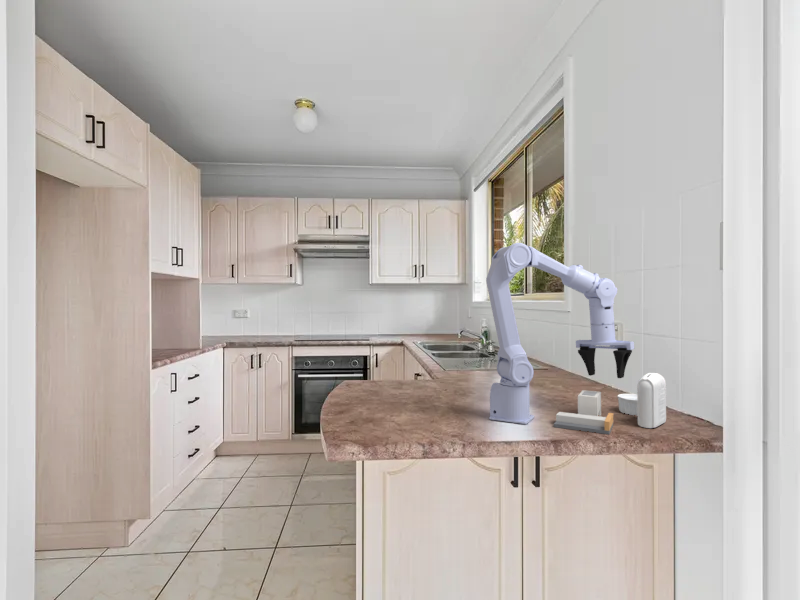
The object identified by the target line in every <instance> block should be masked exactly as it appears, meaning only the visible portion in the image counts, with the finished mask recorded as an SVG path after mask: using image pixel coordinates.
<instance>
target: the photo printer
mask: <svg viewBox="0 0 800 600" xmlns="http://www.w3.org/2000/svg"><path fill="white" fill-rule="evenodd" d="M636 388H637V389H636V391H637V393H636V394H637V415H638V416H637V425H638V426H639V427H641V428H643V429H644V428H646V429H653V428H654V429H655V428H657V427H659V426H661V425H664V424H665V423H666V421H667V381H666V378H665V377H664V375H661V374H660V373H657V372H647V373H646V374H643V375H642V376H641V377H640V379H639V380H638V381H637V387H636Z"/></svg>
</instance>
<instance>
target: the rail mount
mask: <svg viewBox="0 0 800 600" xmlns="http://www.w3.org/2000/svg"><path fill="white" fill-rule="evenodd" d="M553 427H554V428H557V429H564V430H565V429H566V430H572V431H579V430H581V432H587V431H589V432H588V433H594V432H596V433H595V434H602V435H611V432H612V430H613V427H614V412H613V413H612V412H608V413H607V415H606V416H591V415H582V414H578V413H573V412H563V411H559V412H557V413H556V414H555V422H554V423H553Z"/></svg>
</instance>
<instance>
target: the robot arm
mask: <svg viewBox="0 0 800 600" xmlns="http://www.w3.org/2000/svg"><path fill="white" fill-rule="evenodd" d="M525 268H536V269H538V270H541V271H543V272H544V273H545V272H546V273H548V274H551V275H553V276H556V277H557V278H560V280H561V283H562V285H563V286H565V287H568V288H571V289H572V290H575V291H576V292H578V293H580V294H582V295H584V297H585V298H586V300H588V308H589V322H590V335H591V336H590V338H591V339H578V340H575V348H577V353H578V355H579V356H580V357H581V359H582V361H583V363H584V365H585V368H586V370H587V371H586V372H587V373H588V376H589V377H591V376H595V374H596V364H595V356H596V351H597V349H608V350H609V349H610V350H612V353H613V356H614V360H615V365H616V367H615V368H616V377H617V379H622V378H624V377H625V371H626V368H627V365H628V361H629V359H630V357H631V355H632V353H633V350H635V341H632V340H631V341H630V340H618V339H616V329H615V328H616V327H615V313H614V304H615V297H616V296H617V294H618V287H616V285H615V283H614V281H613V280H612V279H610V278H607V277H600V276H599V275H600V274H599V273H597V272H594V273H593V272H590V271H589V270H587V269H585V268H584V266H583V265H581V264H576V265H575V264H572V265H569V266H567V265H565V264H564V263H561V262H559V261H557V260H556V259H554V258H552V257H551V256H548V255H547V254H545V253H543V252H541V251H540V250H538V249H536V248H535V247H533V246H530V245H527V244H525V243H523V242H515V243H512V244H511V245H509V246H503V247H501V248H499V249H498V250H497V251H496V252H495V253H494V254H493V256H492V257H491V264H490V266H489V270H488V273H487V276H486V277H485V278H486V279H485V281H486V288H487V291H488V292H487V293H488V296H489V297H488V298H489V301H490V302H489V303H490V306H491V311H492V316H493V321H494V325H495V332H496V335H497V340H498V345H499V347H498V348H499V349H498V350H497V364H496V371H497V374H498V376H500V381H499V382H493V383H492V384H491V387H490V391H489V420H493V421H498V422H500V421H501V422H507V423H514V424H523V425H528V423H530V422H531V421H532V420H534V419H535V415H533V414H530V409H531V407H530V403H531V402H530V401H531V400H530V398H531V397H530V395H531V394H530V382H531V381H532V380H533V377H534V373H535V372H534V367H533V365H532V364H531V362H530V361H529V359H528V355H527V353H526V351H525V349H524V348H523V346H522V345H521V344H522V343H521V339H520V334H519V330H518V325H517V319H516V314H515V309H514V304H513V299H512V294H511V290H510V285H509V284H510V282H511V281H512V280H513V279H514V277H515V276H516V274H517V273H519V272H520V271H521V270H523V269H525Z"/></svg>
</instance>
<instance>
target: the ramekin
mask: <svg viewBox="0 0 800 600" xmlns="http://www.w3.org/2000/svg"><path fill="white" fill-rule="evenodd" d="M616 398H617V399H618V410H619V412H620V413H622V414H624V413H625V414H626V415H628V414H629V415H628V416H634V415H636V417H638V415H637V393H619V394H618V395H617V396H616Z"/></svg>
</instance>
